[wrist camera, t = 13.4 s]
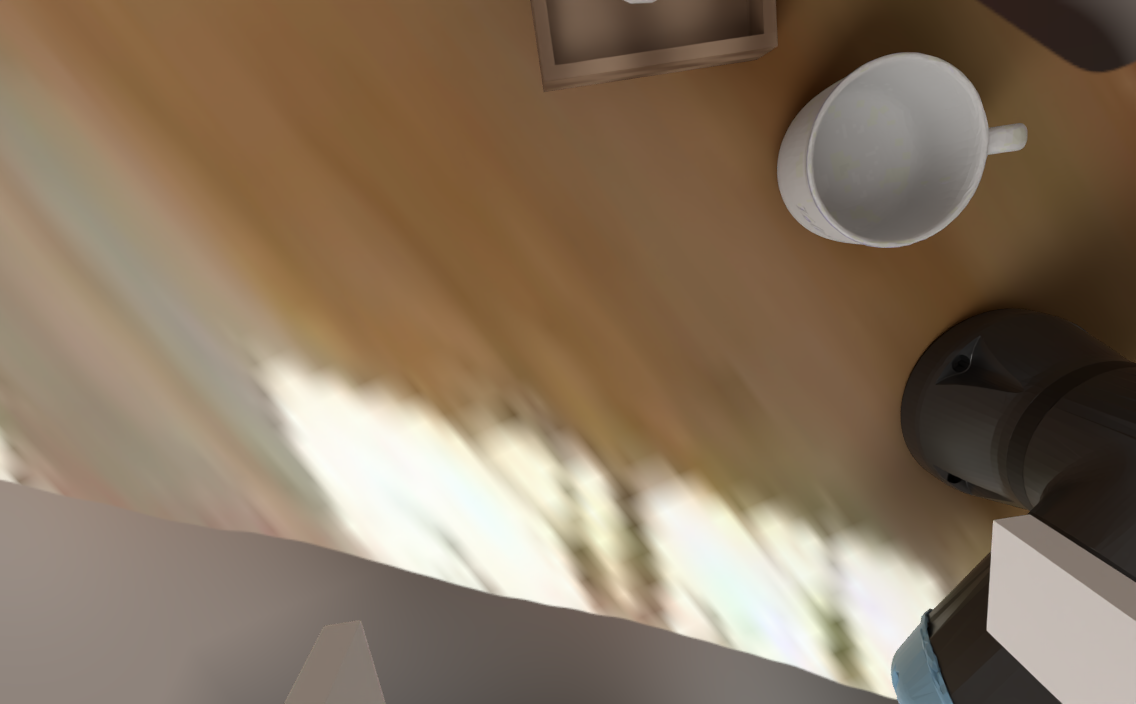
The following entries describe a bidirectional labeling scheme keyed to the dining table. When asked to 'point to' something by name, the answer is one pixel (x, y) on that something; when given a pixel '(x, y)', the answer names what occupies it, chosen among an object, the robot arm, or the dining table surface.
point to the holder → (646, 37)
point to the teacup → (889, 152)
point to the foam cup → (639, 1)
